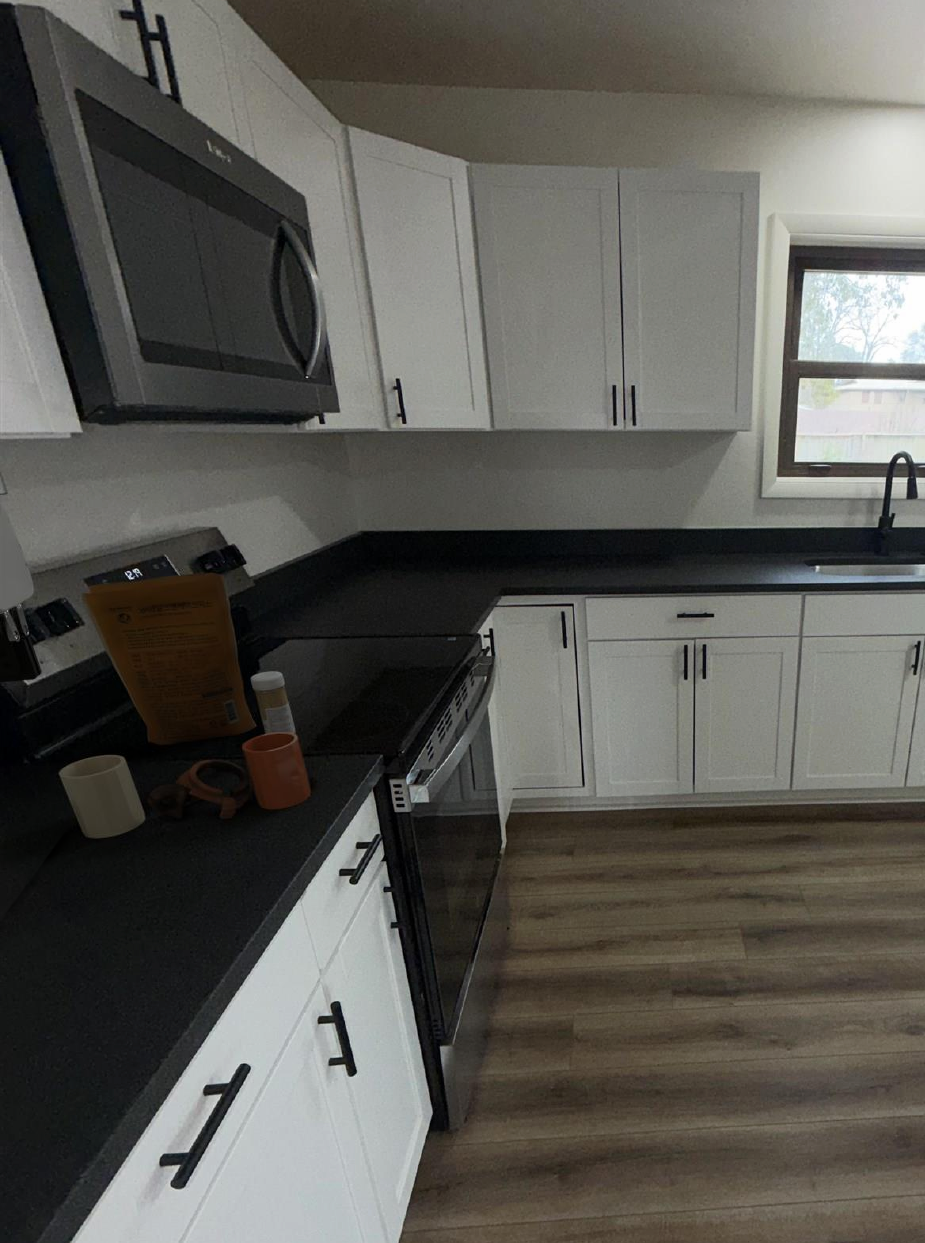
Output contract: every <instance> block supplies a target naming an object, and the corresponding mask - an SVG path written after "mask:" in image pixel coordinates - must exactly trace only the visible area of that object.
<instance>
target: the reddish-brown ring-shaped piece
mask: <svg viewBox="0 0 925 1243" xmlns="http://www.w3.org/2000/svg"><path fill="white" fill-rule="evenodd" d="M210 768H211V769H214V770H215V772H217V773H222V772H223V773H225V772H226V773H230V772H232V773H233V774H234V775H236V776H237V778H238V779H239V781H240V782H241V783H240V784H239V785H237V786H236V787H232V788H230V789H229V794H230V795H224V794H223V789H221V788H218V787H217V788H216V787H213V786H209V785H208V784H206V783H204V782H203V781H201V780H200V779H199V777H198V776H199V775H201V774H202V773H203V772H204V771H206V770H207V769H210ZM247 772H248V771H246V770H245V769H244V768H243V767H242V766H240V765H238V764H237V763H235V762H232V761H228V760H224V759H218V758H217V759H216V758H215V759H214V758H213V759H204V760H201V761H198V762H196V763H194V764H193V765H192V766H190V769H188V770H187V771H185V772H184V773H182V774H181V775H180V776H179V777H178V778H177V780H176V782H175V783H173V784H163V785H160V786H157V787H156V788H154V789H153V790H152V791H150V793H149V796H148V799H147V803H148V805H149V807H150V808H152V809H153V810H154V811H155V812H157V813H159V814H162V815H171V816H172V817H173V818H175V819H178V820H181V819H183V818H184V815H183V806H185V805H186V804H188V803H190V802H197V801H204V800H205V801H207V802H210V803H213V804H217V805H220V812H219V814H218V817H219V818H220V819H221V820H231V819H232V818H233V817H234V815H236V813H237V810H239V809H241V808H242V807H243V806H244V805H245V803H247V801H248V800H249V798H250V795H251V790H250V789H251V785H250V776H249V773H247ZM167 799H170V800H169V801H168V802H166V803H165V802H163V801H164V800H167Z"/></svg>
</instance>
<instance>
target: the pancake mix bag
mask: <svg viewBox="0 0 925 1243" xmlns="http://www.w3.org/2000/svg"><path fill="white" fill-rule="evenodd" d="M225 579H226V578H225V575H223V574H220V573H219V574H218V573H214V572H203V573H202V572H201V573H188V574H187V573H186V574H178V575H169V576H160V577H153V578H146V579H141V580H134V581H133V580H132V581H122V582H112V583H111V582H110V583H98V584H93V585H88V588H89V592H81V594H80V595H81V599H82V603H83V606H84V608H85V611H86V613H87V614H88V616H89V618H90V619H91V621H92V624H93V626H94V628H95V630H96V632H97V635H98V637H99V639H100V642H101V644H102V647H103V649H104V651H105V653H106V654H107V655H108V657H109V658H110V660H111V663H112V665H113V667H114V669H115V671H116V672H117V675H118V676H119V678H120V680H121V682H122V684H123V685H124V687H125V689H126V690H127V693H128V695H129V697H130V699H131V701H132V703H133V705H134V708H136V710H137V713H138V714H139V716H140V717H141V719H142V720H143V723H144V724H145V725H146V732H147V741H148V742H149V743H152V744H156V745H160V746H171V745H178V744H185V743H191V742H198V741H204V740H211V739H217V738H227V737H232V736H233V737H235V736H238V735H242V734H244V733H246V732H249V731H251V730H253V729H255V728H256V727H257V724H256V722H255V721H254V719H253V717H252V715H251V712H250V710H249V706H248V705H247V700H246V696H245V692H244V690H245V689H244V681H243V678H242V672H241V668H240V664H239V658H238V645H237V640H236V634H235V628H234V624H233V619H232V614H231V602H230V599H229V595H228V589H227V584H226V580H225Z"/></svg>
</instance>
